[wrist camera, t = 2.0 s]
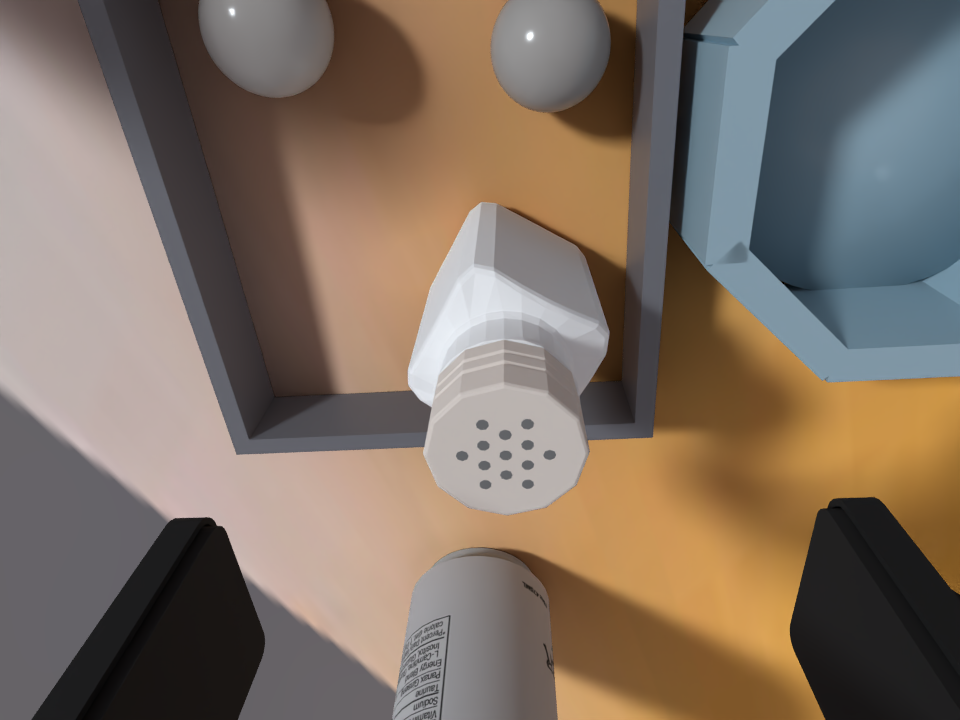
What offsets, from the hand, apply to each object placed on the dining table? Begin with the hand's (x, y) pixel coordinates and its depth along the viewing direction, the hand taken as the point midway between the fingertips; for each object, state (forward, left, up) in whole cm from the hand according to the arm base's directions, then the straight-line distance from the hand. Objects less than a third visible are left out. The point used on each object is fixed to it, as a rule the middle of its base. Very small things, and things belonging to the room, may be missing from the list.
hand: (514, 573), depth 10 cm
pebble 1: (-8, -6, -12) cm, 15 cm away
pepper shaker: (-1, 0, -12) cm, 12 cm away
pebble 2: (-7, +1, -12) cm, 14 cm away
